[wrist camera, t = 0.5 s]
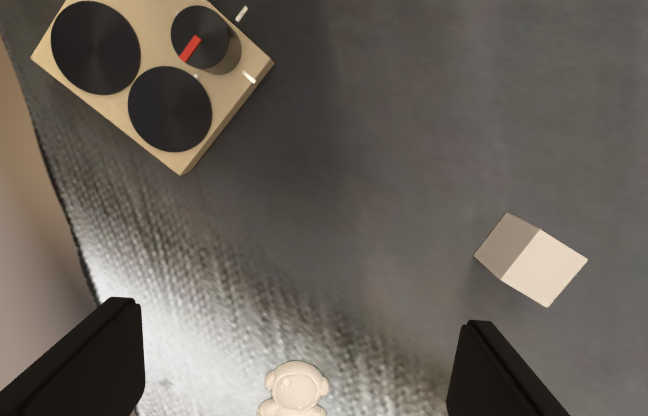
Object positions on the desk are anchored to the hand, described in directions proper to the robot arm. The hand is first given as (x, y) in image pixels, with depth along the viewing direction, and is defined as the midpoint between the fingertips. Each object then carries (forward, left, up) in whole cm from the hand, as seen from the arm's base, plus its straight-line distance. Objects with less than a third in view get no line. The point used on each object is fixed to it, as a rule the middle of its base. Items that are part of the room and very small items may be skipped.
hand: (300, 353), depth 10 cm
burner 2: (+3, -15, -25) cm, 29 cm away
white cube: (-9, +22, -28) cm, 36 cm away
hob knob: (-4, -15, -25) cm, 29 cm away
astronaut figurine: (+23, +17, -28) cm, 40 cm away
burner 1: (+3, -22, -25) cm, 34 cm away
